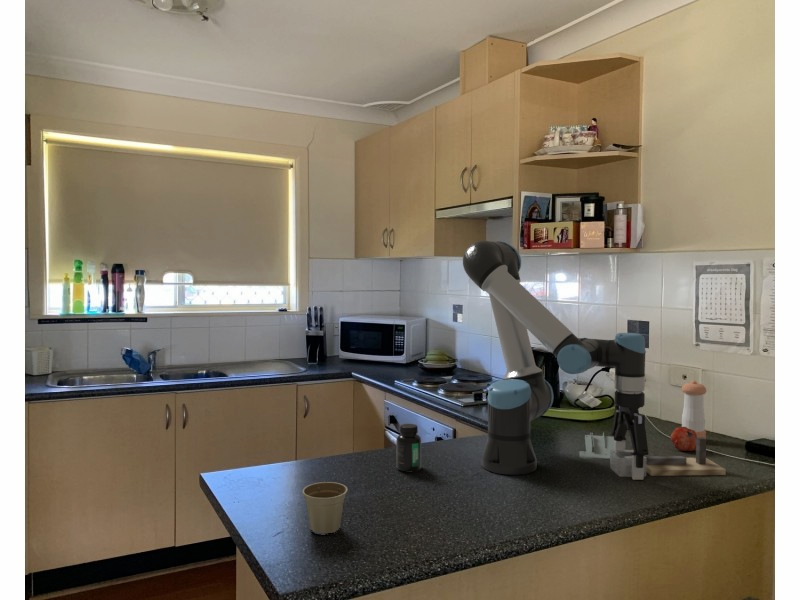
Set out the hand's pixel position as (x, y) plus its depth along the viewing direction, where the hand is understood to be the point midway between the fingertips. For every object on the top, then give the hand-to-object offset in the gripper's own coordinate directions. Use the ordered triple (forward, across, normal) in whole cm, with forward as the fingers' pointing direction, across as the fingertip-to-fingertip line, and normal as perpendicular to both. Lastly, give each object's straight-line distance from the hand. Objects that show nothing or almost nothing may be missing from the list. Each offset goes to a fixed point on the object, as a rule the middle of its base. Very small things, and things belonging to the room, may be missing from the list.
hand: (628, 471), depth 159 cm
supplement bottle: (0, +5, +59) cm, 59 cm away
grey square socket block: (0, 0, 0) cm, 0 cm away
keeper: (0, +2, -15) cm, 15 cm away
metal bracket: (+1, +17, 0) cm, 17 cm away
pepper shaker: (0, +29, -33) cm, 44 cm away
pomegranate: (0, +19, -25) cm, 31 cm away
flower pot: (+1, -33, +78) cm, 85 cm away
